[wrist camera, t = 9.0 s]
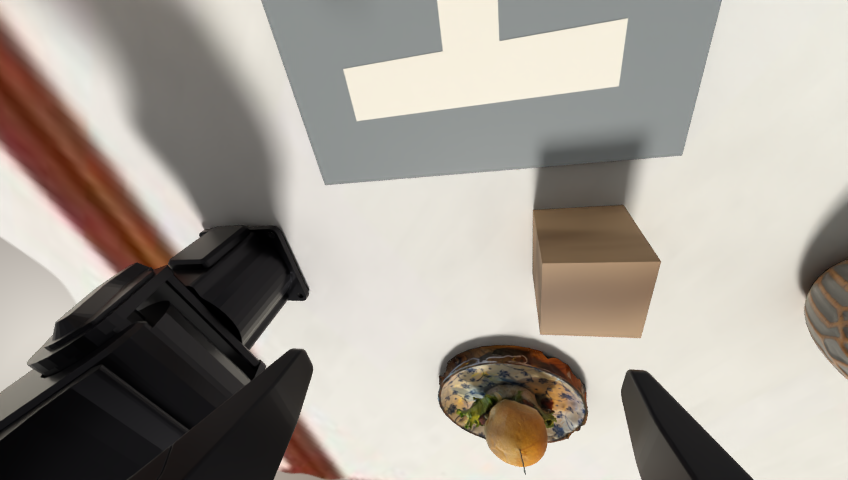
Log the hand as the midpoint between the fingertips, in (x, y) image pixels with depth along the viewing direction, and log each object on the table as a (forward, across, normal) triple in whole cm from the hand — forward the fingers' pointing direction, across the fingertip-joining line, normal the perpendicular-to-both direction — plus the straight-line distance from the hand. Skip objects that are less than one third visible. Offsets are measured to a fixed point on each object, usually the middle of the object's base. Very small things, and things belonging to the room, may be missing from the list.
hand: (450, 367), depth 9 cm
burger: (+12, -2, +18) cm, 22 cm away
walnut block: (+11, -6, +3) cm, 13 cm away
